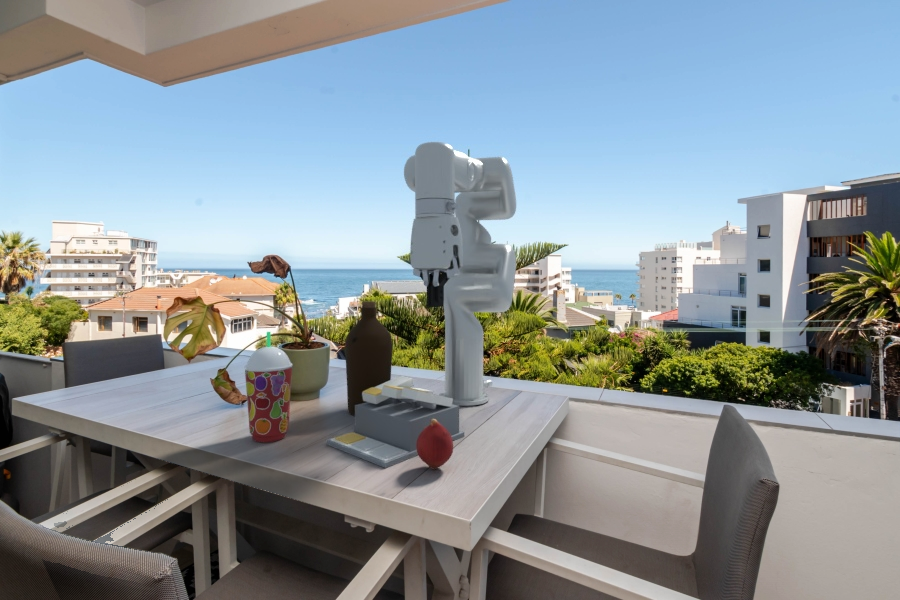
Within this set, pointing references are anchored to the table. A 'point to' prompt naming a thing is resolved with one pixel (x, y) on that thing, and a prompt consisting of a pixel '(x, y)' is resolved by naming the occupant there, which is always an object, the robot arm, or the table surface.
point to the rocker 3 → (426, 398)
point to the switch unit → (393, 430)
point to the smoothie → (268, 392)
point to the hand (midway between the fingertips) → (435, 306)
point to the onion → (434, 445)
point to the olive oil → (367, 355)
